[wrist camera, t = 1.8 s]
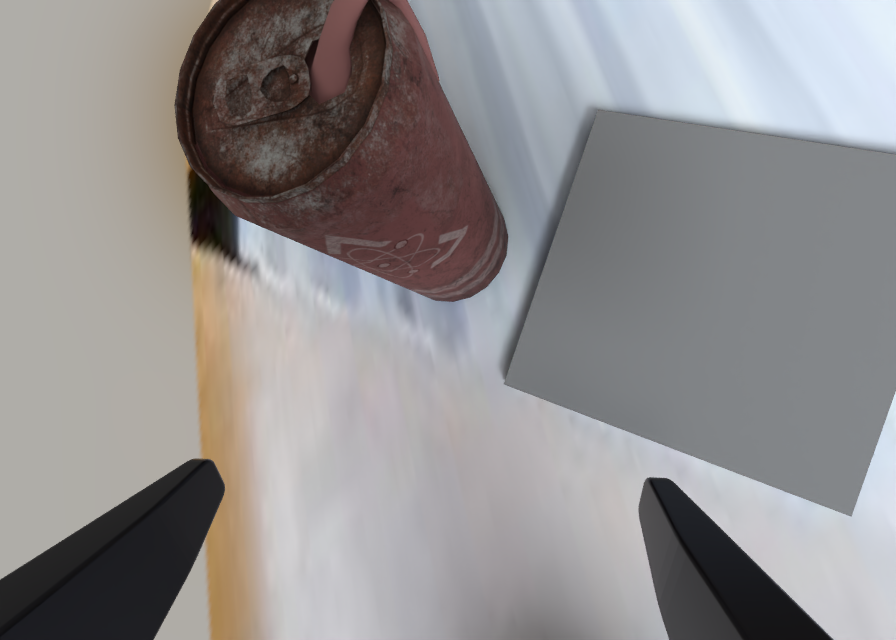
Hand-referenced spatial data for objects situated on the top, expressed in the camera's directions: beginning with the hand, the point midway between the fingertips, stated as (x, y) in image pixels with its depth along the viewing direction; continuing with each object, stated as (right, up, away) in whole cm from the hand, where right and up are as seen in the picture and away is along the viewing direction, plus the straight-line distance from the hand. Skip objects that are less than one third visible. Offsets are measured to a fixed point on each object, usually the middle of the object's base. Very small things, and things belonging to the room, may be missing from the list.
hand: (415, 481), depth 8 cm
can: (+1, +7, +14) cm, 16 cm away
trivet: (+12, +5, +10) cm, 16 cm away
